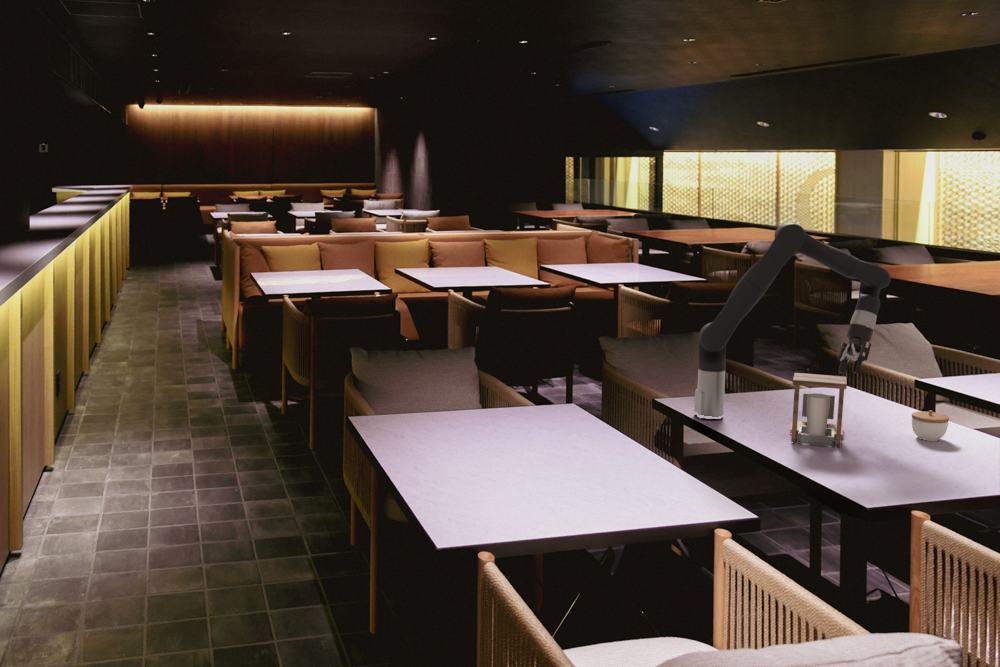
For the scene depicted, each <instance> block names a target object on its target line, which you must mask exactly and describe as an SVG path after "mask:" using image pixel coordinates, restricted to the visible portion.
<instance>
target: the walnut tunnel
mask: <svg viewBox="0 0 1000 667" xmlns="http://www.w3.org/2000/svg"><path fill="white" fill-rule="evenodd" d="M792 386H794V391H793V392H794V393H793V408H792V410H793V411H792V420H791V424H792V434H791V438H790V440H791V441H790V443H791V442H793V443H792V444H794V443H795V444H796V441H797V436H798V435H797V421H799V420H798V418H799V400H800V387H812V388H813V387H815V388H823V389H838V390H839V391H838V404H837V406H838V407H837V418H836V425H837V430H836V439H835V449H840V448H841V440H842V439H841V427H842V425H843V411H844V410H843V409H844V407H843V406H844V398H845V396H844V395H845V390H847V386H848V384H847V376H843V375H841V376H840V375H831V374H830V375H829V374H816V373H815V374H814V373H802V372H801V373H799V372H794V374H793V379H792Z"/></svg>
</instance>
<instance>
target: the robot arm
mask: <svg viewBox="0 0 1000 667" xmlns="http://www.w3.org/2000/svg"><path fill="white" fill-rule="evenodd" d="M773 239H774V240H773V241H772V243H771V244H770V246H769V247H768V249H767V250H766V252H765V253H764V254H763V255H762V257H760V258H759V259H758V260H757V261H756V262H755V263H754V264H753V265H751V267H749V269H747V271H746V272H745V273H743V275H742V277H740V279H739V281H737V283H736V285H735V286H734V288H733V290H732V291H731V293H730V295H729V296H728V297H727V298H728V299H727V300H726V302H725V304H724V306H723V308H722V310H721V311H720V312H719V313H718V315H717V316H716V317H715V319H713V321H712V322H708V323H706V324H704V326H702V328H701V329H700V331H699V334H698V335H699V337H698V338H699V340H698V357H697V358H698V359H697V360H698V369H697V370H698V371H697V388H696V389H695V390H694V410H693V412H694V411H695V412H697V413H698V414H699V415H704V416H712V417H719V416H722V415H723V416H724V409H725V408H724V405H725V388H726V386H725V384H726V364H727V360H726V358H727V357H726V356H727V355H726V354H727V343H729V340H730V338H731V337H732V335H733V333H734V332H735V331H736V328H737V327H738V326H739V324H740V323H741V322H742V321H743V320H744V318H745V317H747V315H748V314H749V313H750V312H751V311H752V310H753V308H754V307H755V306H756V304H758V302H759V301H760V300H761V299H762V297H763V296H764V295H765V293H766V292H767V291H768V289H770V288H769V287H770V286H771V285H772V284H773V282H774V281H775V279H776V278H777V276H778V274H779V273H780V272H781V270H782V268H783V267H784V266H785V265H786V263H787V262H788V261H789V260H791V258H792V257H793V256H794V255H795V254H796V253H799V254H801V255H804V256H807V257H808V258H810V259H812V260H815V261H816V262H818V263H819V264H821V265H823V266H825V267H827V268H828V269H830V270H831V271H834V272H836V273H837V274H840V275H842V276H844V277H845V278H848V279H851V280H859V281H860V284H859V288H858V289H859V290H858V299H857V302H856V306H855V308H854V312H853V314H852V316H851V319H850V322H849V324H848V325H849V326H848V330H847V332H846V338H847V339H848V343H846V342H843V343H842V345H841V348H840V352H839V353H838V356H837V360H839V361H840V363H839V367H838V369H837V372H838V373H840V374H846V372H847V368H848V365H849V364H848V363H849V362H850V361H851V360H853V359H854V361H853V364H852V368H851V373H854V374H859V373H860V369H861V367H862V363H864V361H865V362H866V361H867V360H868V359H869V358H868V357H869V355H870V351H871V347H872V343H871V340H872V337H873V333H874V330H875V327H876V323H877V317H878V315H879V314H878V313H879V311H880V307H881V300H880V294H881V290H883V289H884V288H887V287H888V286H889V285H890V283H891V280H892V278H891V274H890V272H889V271H888V270H887V269H885V268H884V267H882V266H879V265H877V264H874V263H870V262H868V261H864V260H861V259H859V258H858V257H856V256H853V255H851V254H849V253H847V252H845V251H843V250H842V249H839V248H837V247H834V246H832V245H829V244H826V243H824V242H822V241H820V240H818V239H817V238H814V237H813V236H811V235H810V234H808V233H807V232H806V231H805V230H804V228H803V227H802V225H799V224H797V223H794V222H785V223H783V224H780V225H778V227H777V228H776V229H775V231H774V238H773Z"/></svg>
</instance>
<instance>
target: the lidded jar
mask: <svg viewBox="0 0 1000 667" xmlns="http://www.w3.org/2000/svg"><path fill="white" fill-rule="evenodd" d="M949 421H950V417H949V416H948V415H947V414H943V413H940V412H935V411H934V410H931V409H930V410H928V411H924V410H923V411H921V410H920V411H914V412H912V413H911V428H912V431H913V433H914V434H915V435H916V436H917V439H919V438H920V439H919V440H921V439H923V440H922V441H925V440H927V441H926V442H938V441H939V440H940V439H941V438H943V437H944V436H945V434H946V433H947V430H948V427H949ZM937 440H938V441H937Z"/></svg>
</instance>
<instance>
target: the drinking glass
mask: <svg viewBox="0 0 1000 667" xmlns="http://www.w3.org/2000/svg"><path fill="white" fill-rule="evenodd" d="M828 395H829V394H826V393H825V394H824V393H816V392H815V393H814V392H813V393H811V394H808V397H807V417H806V422H807V434H813V435H823V436H825V433H826V426H827V424H828V420H829V419H828V414H829V407H830V396H828Z"/></svg>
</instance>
